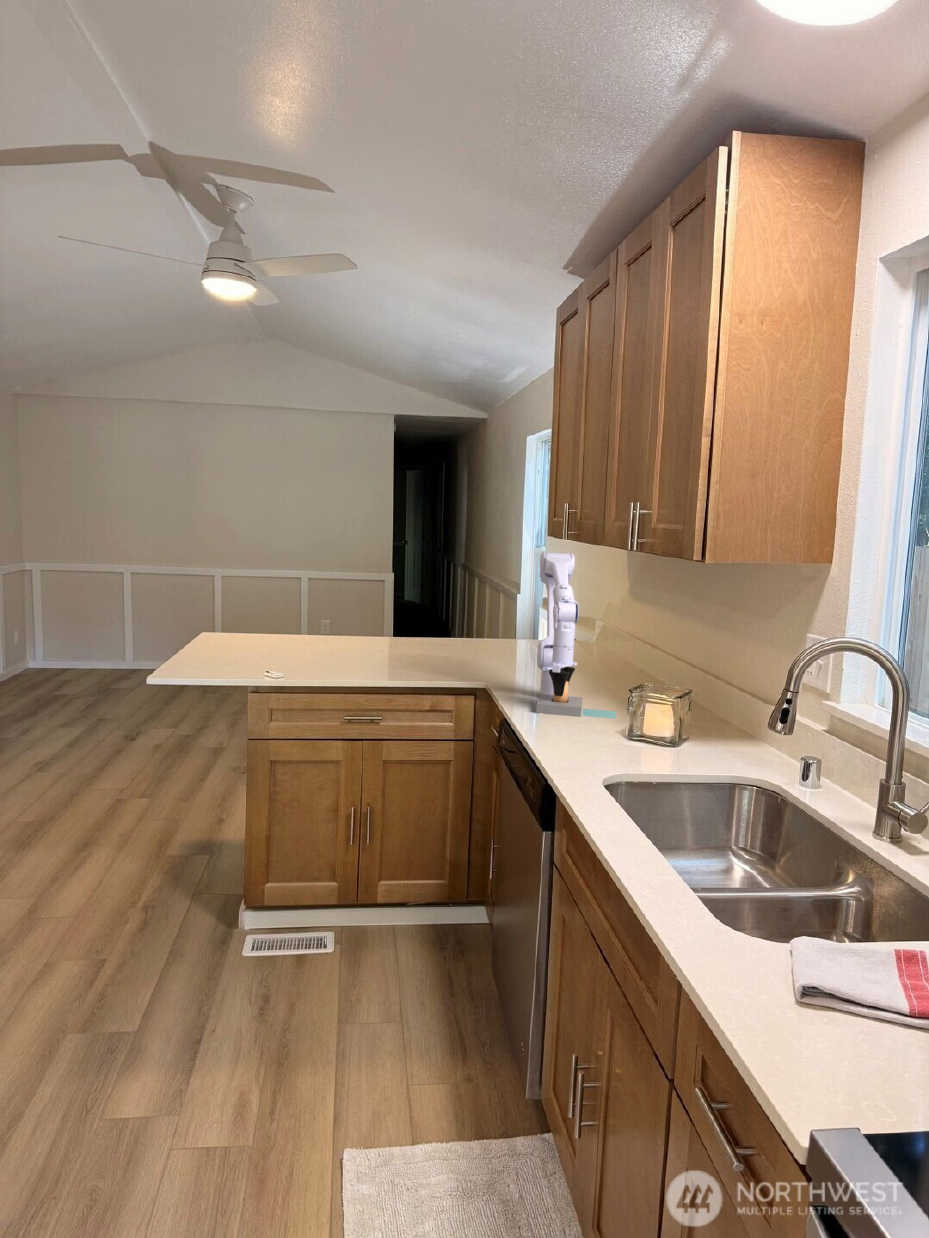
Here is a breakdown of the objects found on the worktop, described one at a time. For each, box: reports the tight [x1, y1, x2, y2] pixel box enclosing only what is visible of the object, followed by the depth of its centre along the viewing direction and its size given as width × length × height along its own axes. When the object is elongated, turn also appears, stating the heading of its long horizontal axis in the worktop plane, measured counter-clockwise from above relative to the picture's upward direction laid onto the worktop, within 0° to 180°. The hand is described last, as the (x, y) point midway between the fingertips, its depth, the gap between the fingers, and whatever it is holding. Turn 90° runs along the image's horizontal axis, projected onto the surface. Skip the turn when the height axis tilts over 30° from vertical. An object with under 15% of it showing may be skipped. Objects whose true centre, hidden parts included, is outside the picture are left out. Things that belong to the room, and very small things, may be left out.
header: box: [535, 693, 583, 718], centre depth 236 cm, size 14×12×3 cm
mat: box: [582, 708, 617, 719], centre depth 233 cm, size 9×9×1 cm
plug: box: [553, 681, 570, 703], centre depth 235 cm, size 4×4×7 cm
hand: (560, 694), depth 235 cm, fingers closed on plug, 4 cm apart
